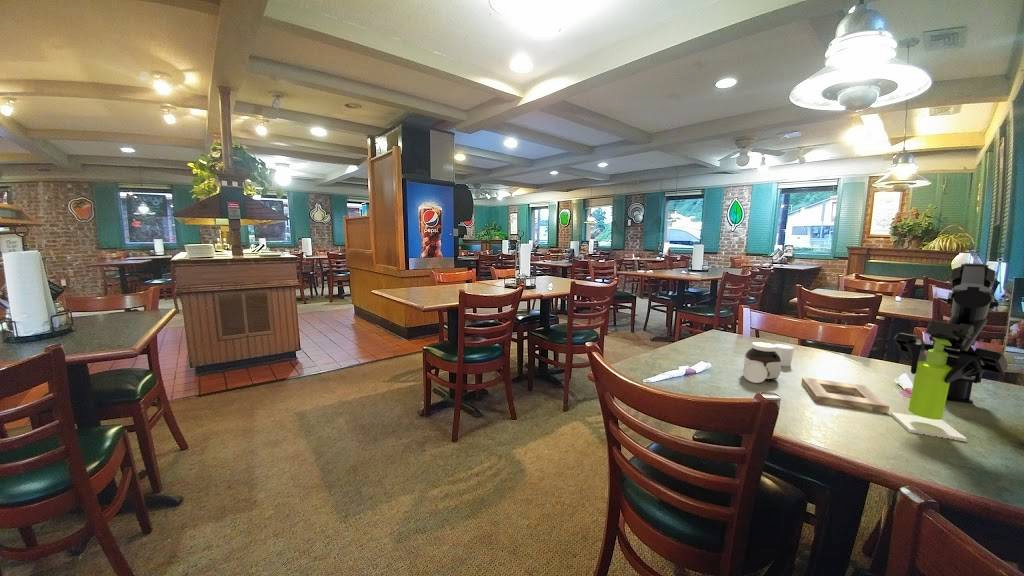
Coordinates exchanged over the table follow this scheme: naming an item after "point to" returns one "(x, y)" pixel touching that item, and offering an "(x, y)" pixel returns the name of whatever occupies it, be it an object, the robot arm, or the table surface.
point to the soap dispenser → (931, 383)
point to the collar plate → (862, 401)
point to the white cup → (785, 353)
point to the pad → (927, 426)
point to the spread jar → (761, 363)
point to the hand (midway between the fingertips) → (928, 377)
